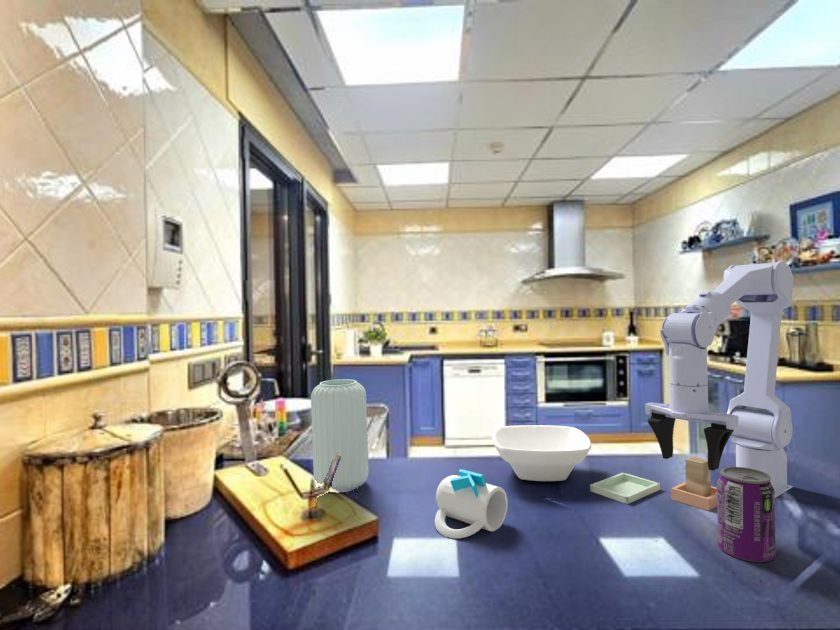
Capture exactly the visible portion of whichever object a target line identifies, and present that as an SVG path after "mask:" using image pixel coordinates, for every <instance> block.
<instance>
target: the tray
mask: <svg viewBox="0 0 840 630" xmlns="http://www.w3.org/2000/svg"><path fill="white" fill-rule="evenodd" d="M660 490H661V483H660V482H656V481H653V480H650V479H646V478H643V477H639V476H636V475H633V474H629V473H625V472H620V473H618V474H615V475H612V476H610V477H607V478H605V479H603V480H600V481H596V482H593V483H590V485H589V492H591V493H595V494H597V495H601V496H603V497H605V498H609V499H612V500H615V501H617V502H620V503H623V504H624V505H630V504H631V503H634V502H636V501H638V500H640V499H642V498H644V497H647V496H649V495H651V494H653V493H656V492H658V491H660Z"/></svg>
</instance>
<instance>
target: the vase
mask: <svg viewBox="0 0 840 630" xmlns="http://www.w3.org/2000/svg"><path fill="white" fill-rule="evenodd" d="M366 391H367V390H366V389H365V386H364V385H362V384H361V383H359V382H358V381H357V380H355V379H347V378H343V379H341V378H340V379H328V380H324V381H320V382H319V384H318V385H316V386H315V387H314V388H313V390H312V391H311V394H310V407H311V408H310V411H311V413H310V414H311V436H312V440H311V441H312V464H313V465H312V466H313V469H312V470H313V479H314V481H315V480H316V481H317V483H320V484H322V483H323V481H324V479H325V477H326V475H327V473H328V471H329V468H330V465H331V462H332V460H333V458H334V456H335V454H336V453H337V452H339V453H340V455H341V460H340V462H339V465H338V468H337V470H336V473H335V475H334V478H333V481H332V488H333V489H336V490H339V491H343V490H347V491H348V490H352V489H354V488H357V489H359V488H360V487H361V486H362V485H364V484H365V482H366V481H367V479H368V477H369V473H370V472H369V468H370V467H369V466H370V465H369V446H368V445H369V440H368V414H367V410H368V409H367V392H366ZM359 486H360V487H359ZM358 487H359V488H358Z"/></svg>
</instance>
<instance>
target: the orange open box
mask: <svg viewBox="0 0 840 630" xmlns="http://www.w3.org/2000/svg"><path fill="white" fill-rule="evenodd" d="M670 495H671V496H670V498H671V500H673V501H676V502H679V503H682V504H685V505H689V506H691V507H694V508H697V509H701V510H703V511H707V512H709V511H711V510H713V509H715V508H717V486H712V485H711V496H709V497H703V496H700V495H696V494H693V493H690V492H686V481H685V482H683V483H680V484H677V485H676V486H674V487H673V486H672V487H671V488H670Z"/></svg>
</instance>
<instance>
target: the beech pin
mask: <svg viewBox="0 0 840 630" xmlns="http://www.w3.org/2000/svg"><path fill="white" fill-rule="evenodd" d="M711 471H712V470H709V468H708V458H705V457H704V458H703V457H699V456H695V455H693V456H691V457H688V458H686V459H685V482H686V492H690V493H693V494H696V495H700V496H703V497H709V496H711V486H712V481H711V480H712V479H711V478H712V477H711V476H712V473H711Z"/></svg>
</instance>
